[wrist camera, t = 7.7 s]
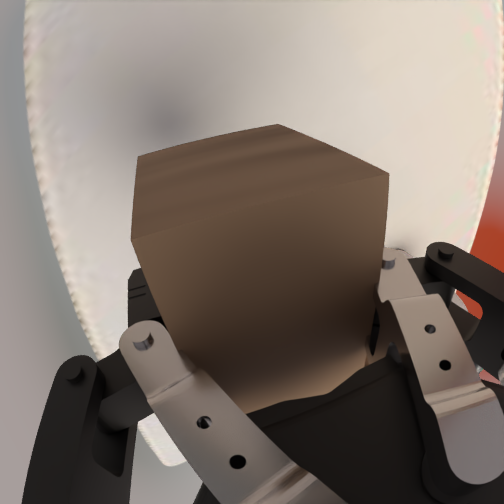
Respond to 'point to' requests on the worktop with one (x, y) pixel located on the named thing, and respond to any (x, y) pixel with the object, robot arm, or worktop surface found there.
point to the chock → (263, 258)
